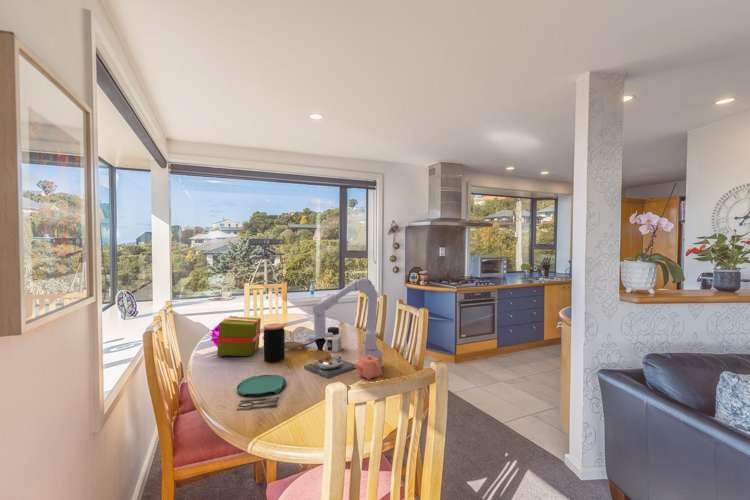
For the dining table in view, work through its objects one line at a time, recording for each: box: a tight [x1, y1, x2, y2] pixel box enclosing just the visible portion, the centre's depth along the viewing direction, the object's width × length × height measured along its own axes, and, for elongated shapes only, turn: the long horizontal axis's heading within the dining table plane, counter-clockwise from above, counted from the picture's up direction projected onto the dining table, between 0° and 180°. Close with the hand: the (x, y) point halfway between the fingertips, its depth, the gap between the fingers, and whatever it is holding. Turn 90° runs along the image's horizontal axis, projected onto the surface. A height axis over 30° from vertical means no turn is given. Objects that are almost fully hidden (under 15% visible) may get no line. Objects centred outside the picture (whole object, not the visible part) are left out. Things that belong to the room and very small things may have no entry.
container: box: [324, 326, 343, 353], centre depth 199 cm, size 8×8×13 cm
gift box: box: [209, 315, 262, 357], centre depth 195 cm, size 21×21×25 cm
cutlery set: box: [236, 374, 287, 412], centre depth 142 cm, size 20×30×2 cm, turn 11°
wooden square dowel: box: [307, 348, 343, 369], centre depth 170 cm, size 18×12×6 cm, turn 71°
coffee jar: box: [263, 322, 286, 363], centre depth 183 cm, size 11×11×18 cm
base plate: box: [303, 359, 356, 379], centre depth 169 cm, size 18×18×2 cm
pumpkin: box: [354, 355, 383, 381], centre depth 158 cm, size 12×12×10 cm
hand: (320, 353), depth 174 cm, fingers closed, pressing on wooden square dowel
